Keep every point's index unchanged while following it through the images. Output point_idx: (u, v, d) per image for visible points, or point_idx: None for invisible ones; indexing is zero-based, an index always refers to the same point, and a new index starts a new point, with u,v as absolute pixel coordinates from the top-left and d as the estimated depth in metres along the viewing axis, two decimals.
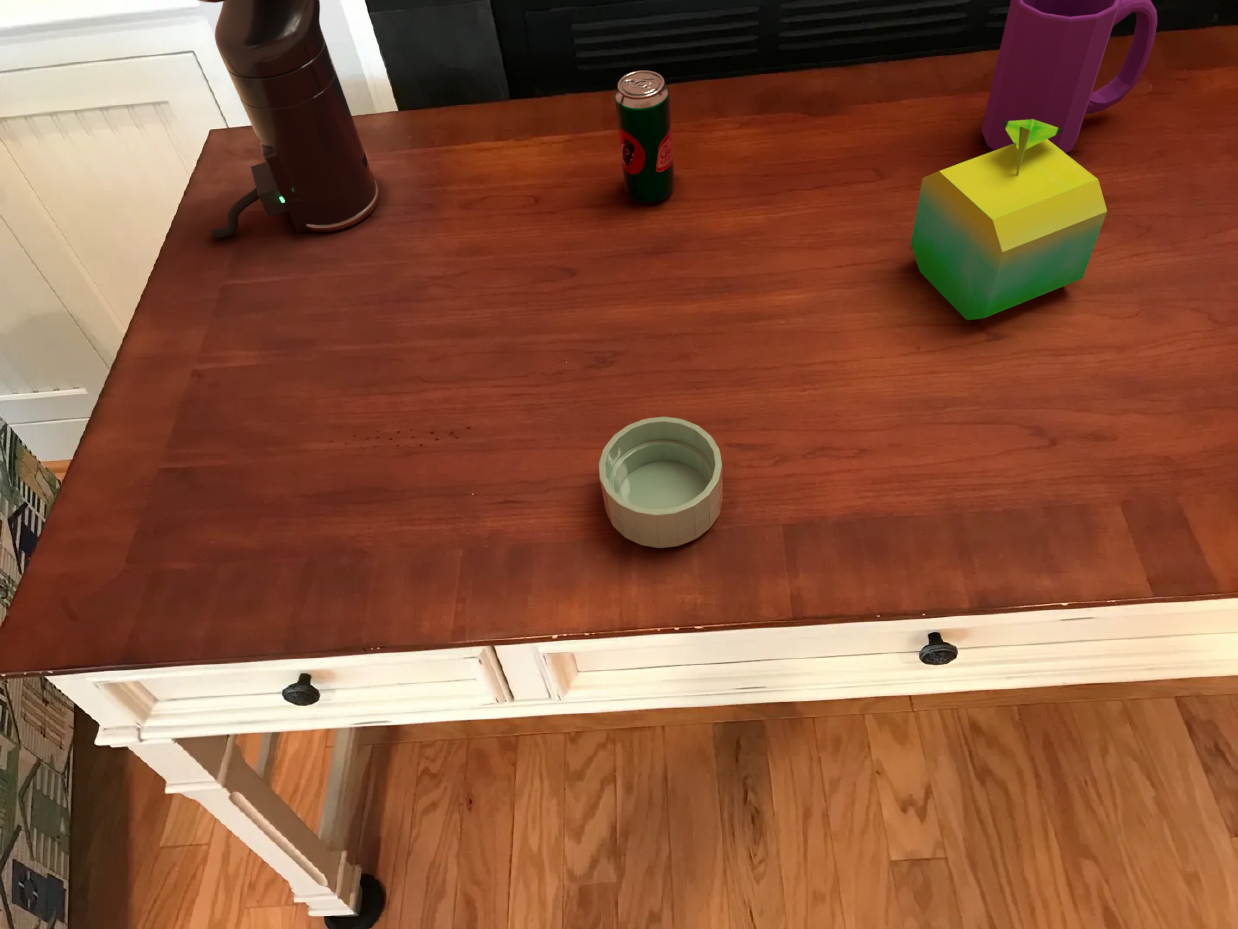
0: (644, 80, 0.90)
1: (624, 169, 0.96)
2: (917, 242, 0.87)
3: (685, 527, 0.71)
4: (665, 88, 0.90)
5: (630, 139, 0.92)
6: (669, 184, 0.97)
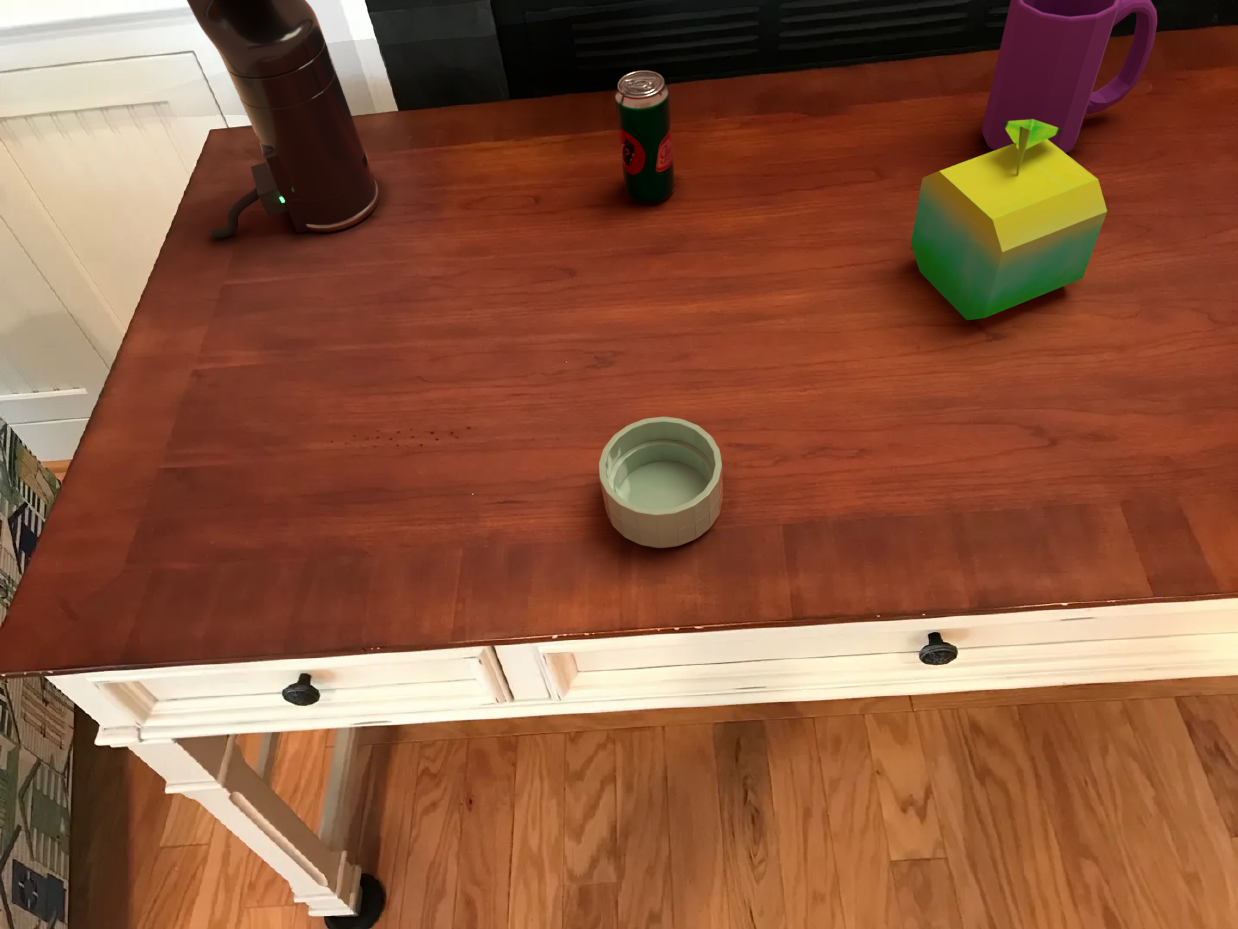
0: (644, 80, 0.90)
1: (624, 169, 0.96)
2: (917, 242, 0.87)
3: (685, 527, 0.71)
4: (665, 88, 0.90)
5: (630, 139, 0.92)
6: (669, 184, 0.97)
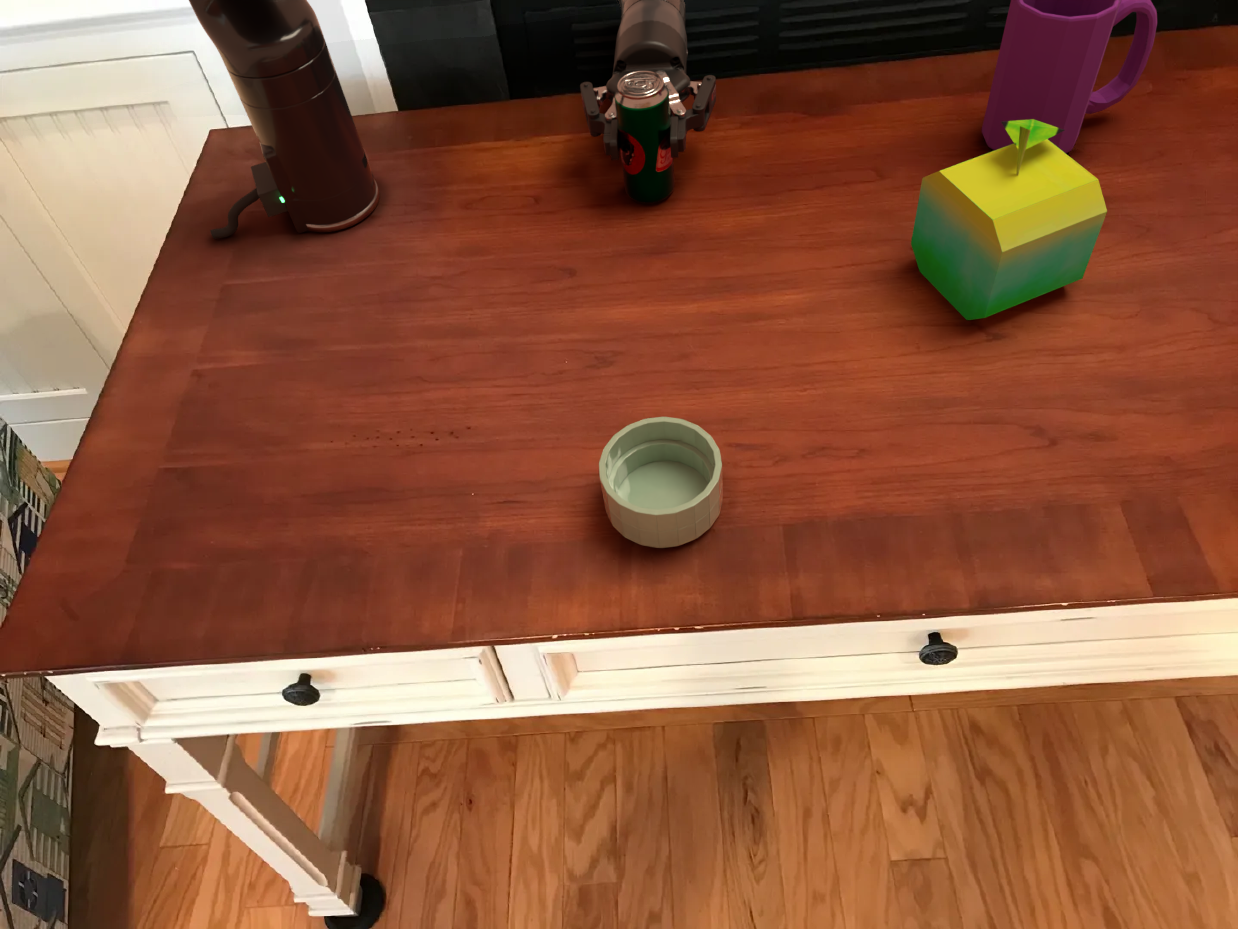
0: (644, 80, 0.90)
1: (624, 169, 0.96)
2: (917, 242, 0.87)
3: (685, 527, 0.71)
4: (665, 88, 0.90)
5: (630, 139, 0.92)
6: (669, 184, 0.97)
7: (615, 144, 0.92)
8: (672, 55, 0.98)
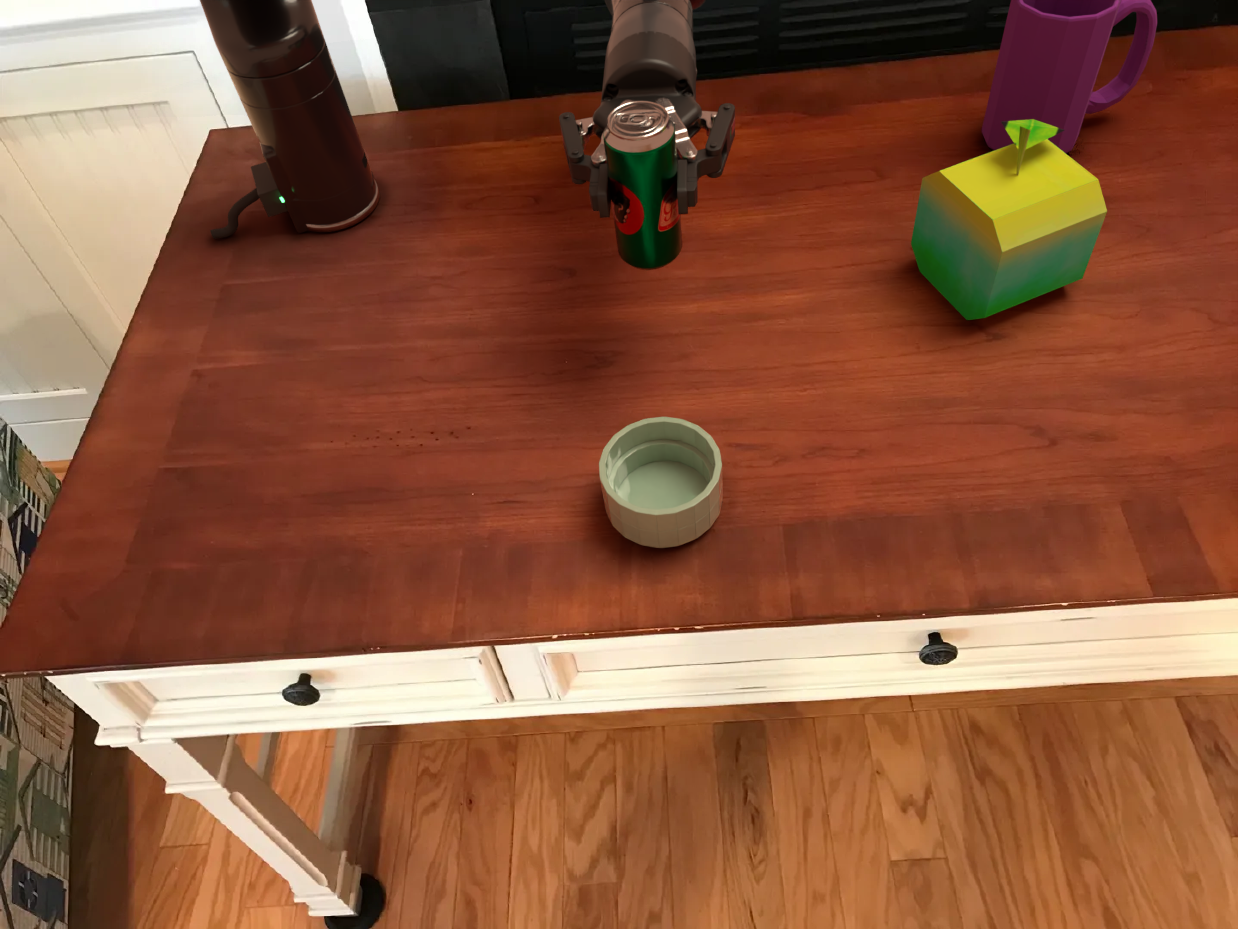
0: (642, 114, 0.68)
1: (617, 227, 0.74)
2: (917, 242, 0.87)
3: (685, 527, 0.71)
4: (670, 125, 0.68)
5: (624, 191, 0.70)
6: (675, 245, 0.75)
7: (604, 198, 0.70)
8: (678, 77, 0.75)
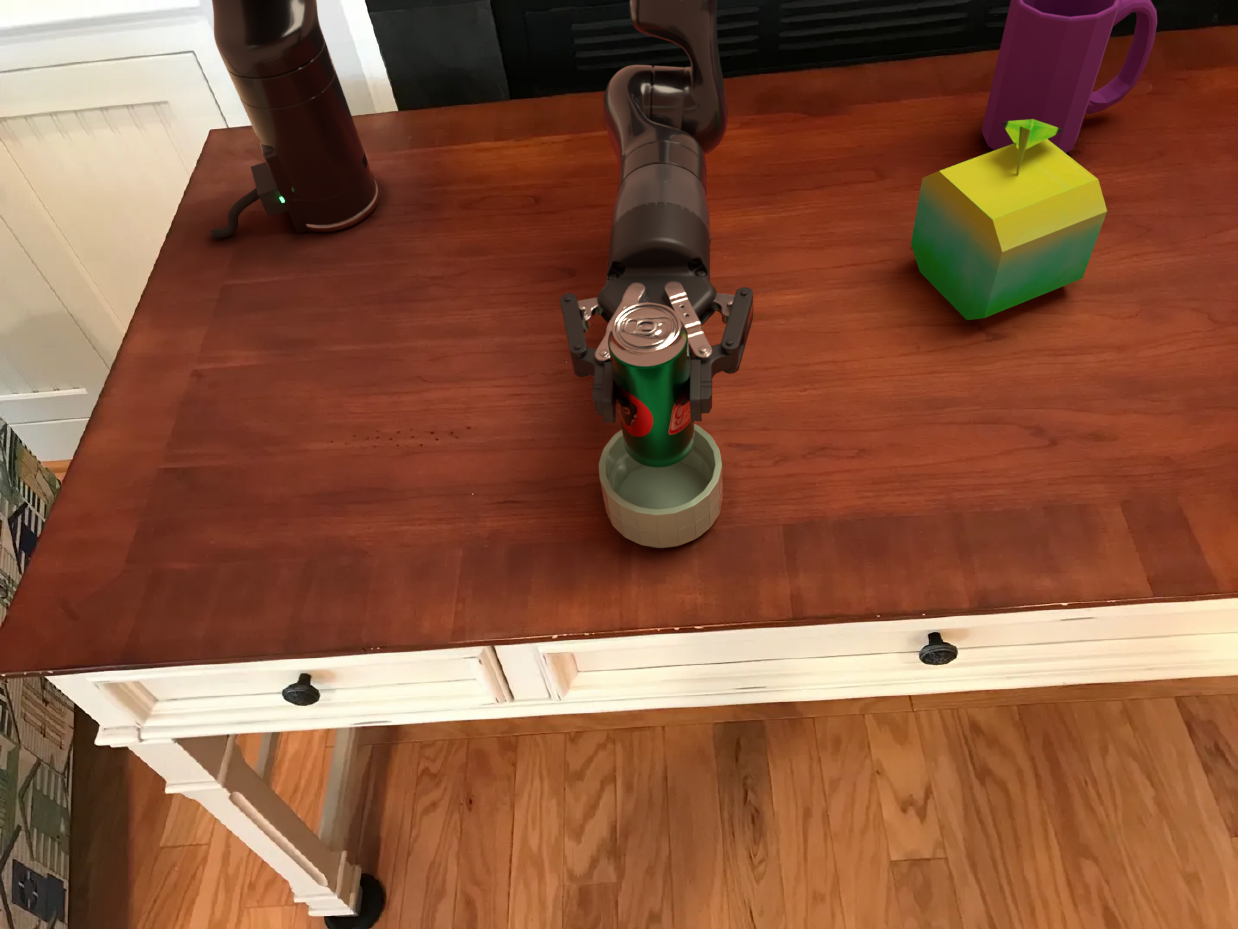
0: (651, 321, 0.61)
1: (623, 426, 0.67)
2: (917, 242, 0.87)
3: (685, 527, 0.71)
4: (682, 333, 0.61)
5: (632, 399, 0.63)
6: (687, 444, 0.68)
7: (610, 406, 0.63)
8: (691, 257, 0.69)
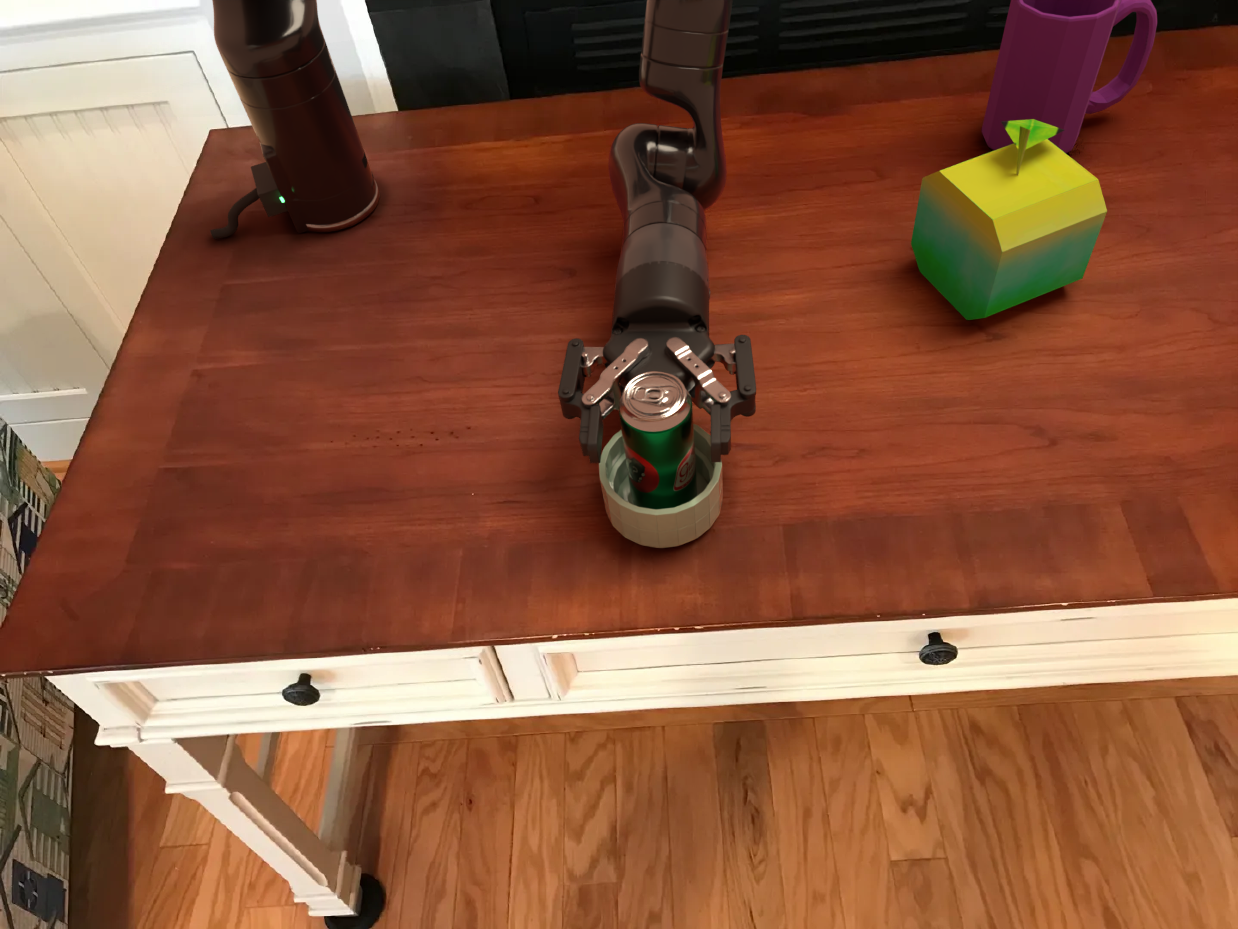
0: (658, 389, 0.66)
1: (631, 482, 0.72)
2: (917, 242, 0.87)
3: (685, 527, 0.71)
4: (687, 400, 0.66)
5: (640, 459, 0.68)
6: (690, 498, 0.73)
7: (595, 448, 0.68)
8: (691, 314, 0.73)
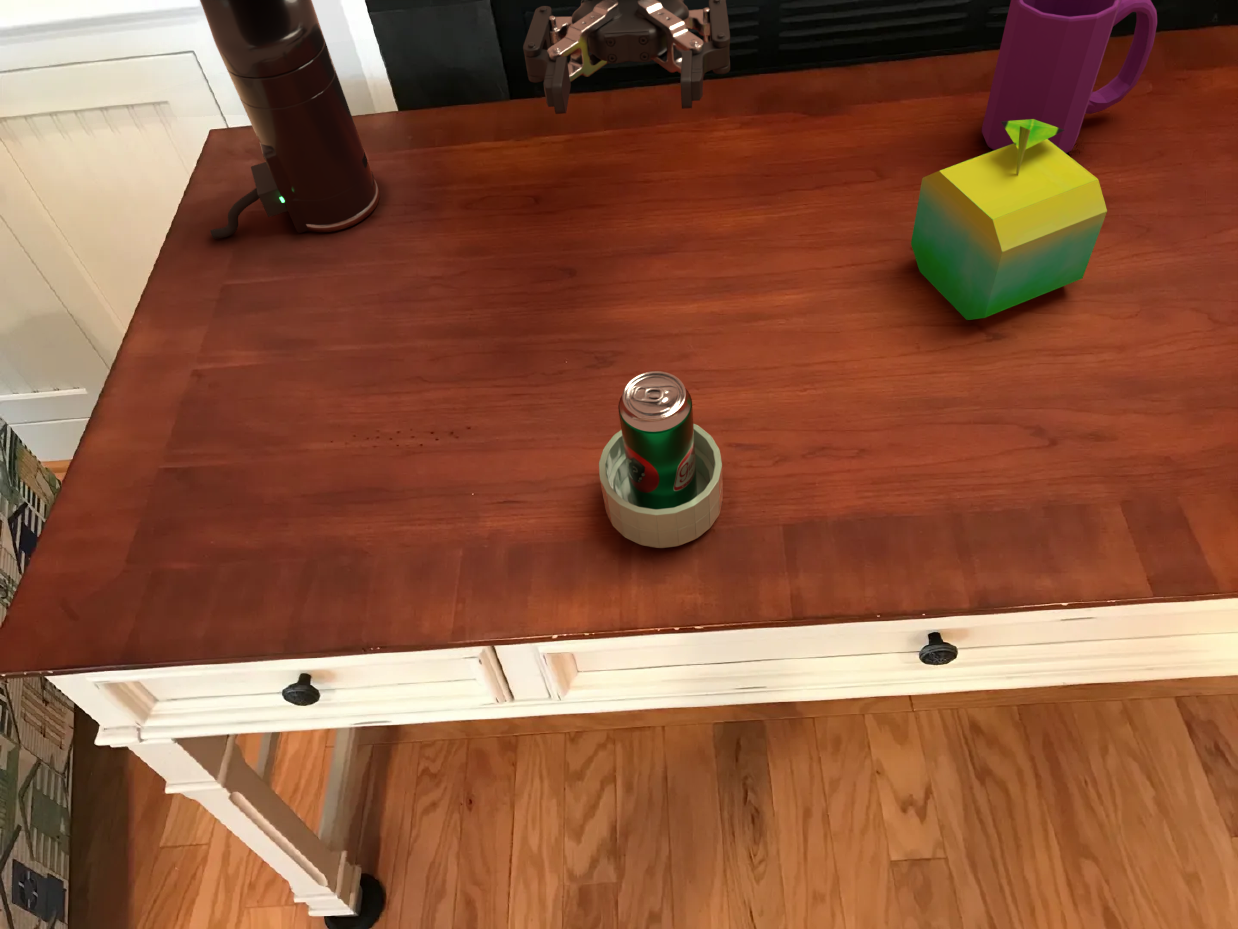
0: (658, 389, 0.66)
1: (631, 482, 0.72)
2: (917, 242, 0.87)
3: (685, 527, 0.71)
4: (687, 400, 0.66)
5: (640, 459, 0.68)
6: (690, 498, 0.73)
7: (559, 90, 0.65)
8: None
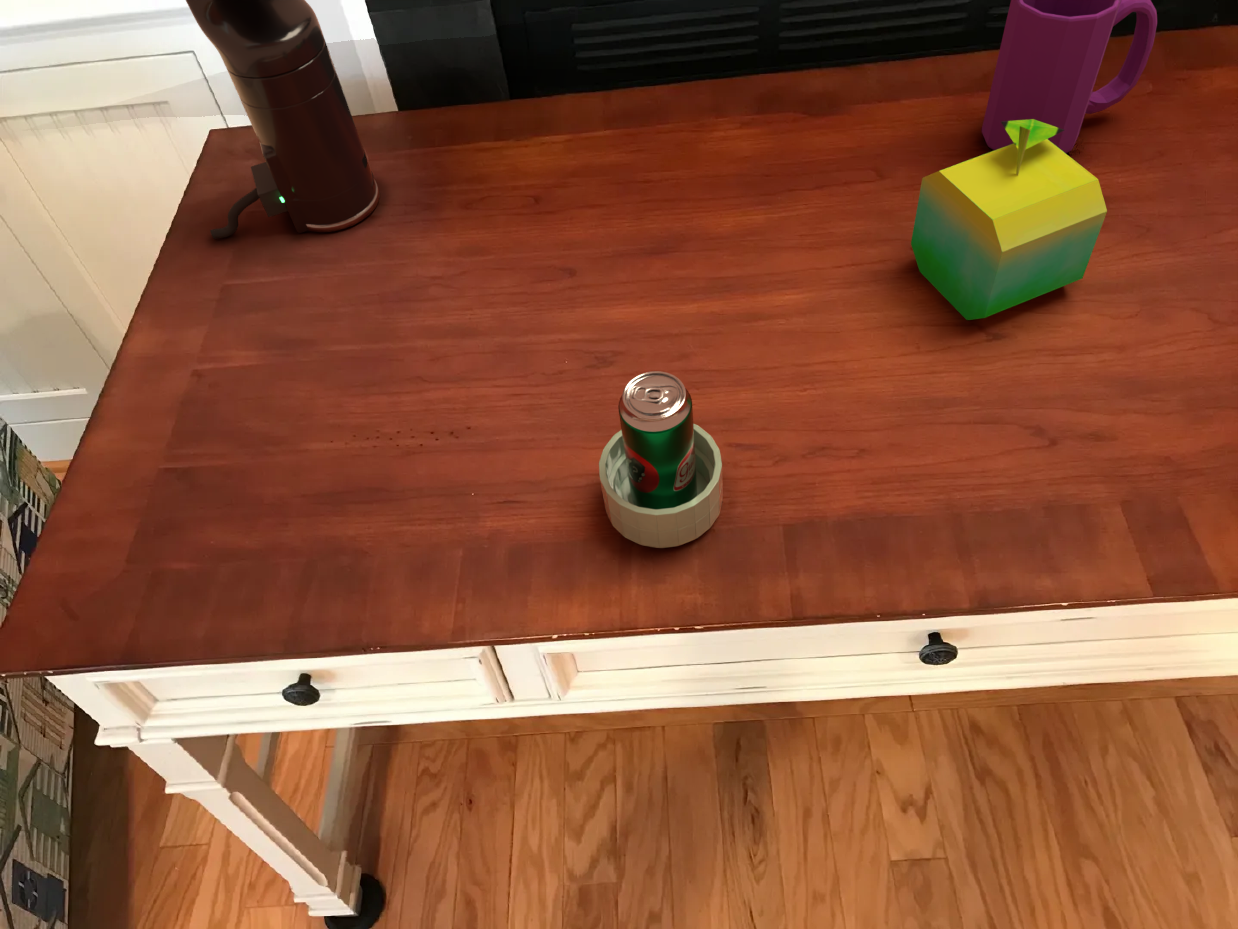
0: (658, 389, 0.66)
1: (631, 482, 0.72)
2: (917, 242, 0.87)
3: (685, 527, 0.71)
4: (687, 400, 0.66)
5: (640, 459, 0.68)
6: (690, 498, 0.73)
7: None
8: None
